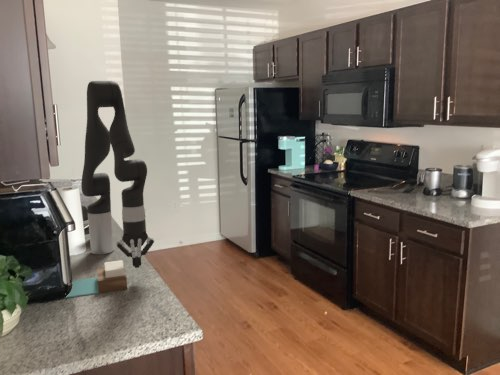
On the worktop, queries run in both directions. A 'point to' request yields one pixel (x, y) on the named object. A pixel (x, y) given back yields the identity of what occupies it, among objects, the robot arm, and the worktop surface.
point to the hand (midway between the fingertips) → (137, 267)
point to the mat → (84, 287)
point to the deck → (110, 281)
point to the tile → (114, 269)
